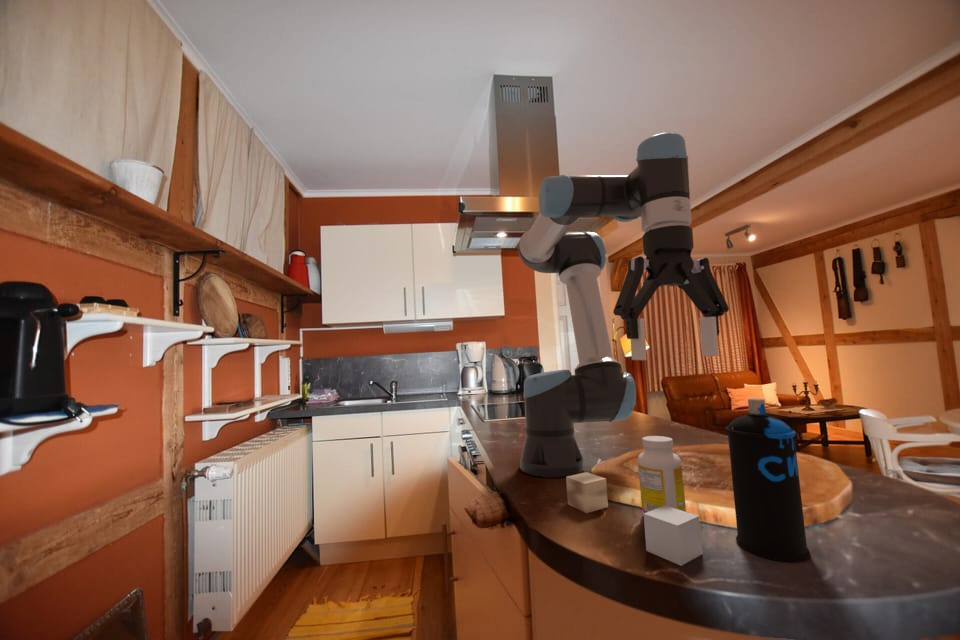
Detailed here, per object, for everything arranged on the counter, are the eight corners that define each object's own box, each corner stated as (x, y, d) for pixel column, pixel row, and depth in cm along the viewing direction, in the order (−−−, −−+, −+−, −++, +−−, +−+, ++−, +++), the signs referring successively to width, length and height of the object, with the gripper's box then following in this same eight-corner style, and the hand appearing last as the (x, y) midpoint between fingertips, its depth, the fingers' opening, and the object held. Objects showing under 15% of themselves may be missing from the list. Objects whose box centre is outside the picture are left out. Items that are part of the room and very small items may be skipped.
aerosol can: (722, 540, 57) (709, 399, 59) (761, 529, 60) (747, 395, 62) (783, 568, 49) (765, 404, 51) (825, 554, 52) (807, 399, 54)
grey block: (646, 551, 55) (643, 513, 55) (667, 541, 58) (665, 505, 58) (681, 566, 51) (677, 525, 51) (702, 554, 53) (699, 516, 54)
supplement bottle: (677, 510, 68) (670, 434, 69) (694, 527, 62) (686, 442, 63) (637, 510, 69) (631, 434, 70) (649, 527, 62) (642, 443, 63)
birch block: (567, 504, 73) (566, 476, 73) (588, 499, 75) (586, 472, 76) (586, 513, 69) (584, 483, 69) (608, 507, 71) (606, 478, 71)
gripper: (612, 220, 59) (621, 362, 58) (747, 225, 65) (758, 354, 64) (587, 234, 67) (594, 360, 65) (710, 238, 73) (719, 354, 71)
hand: (675, 358), depth 65 cm, fingers open, 13 cm apart
